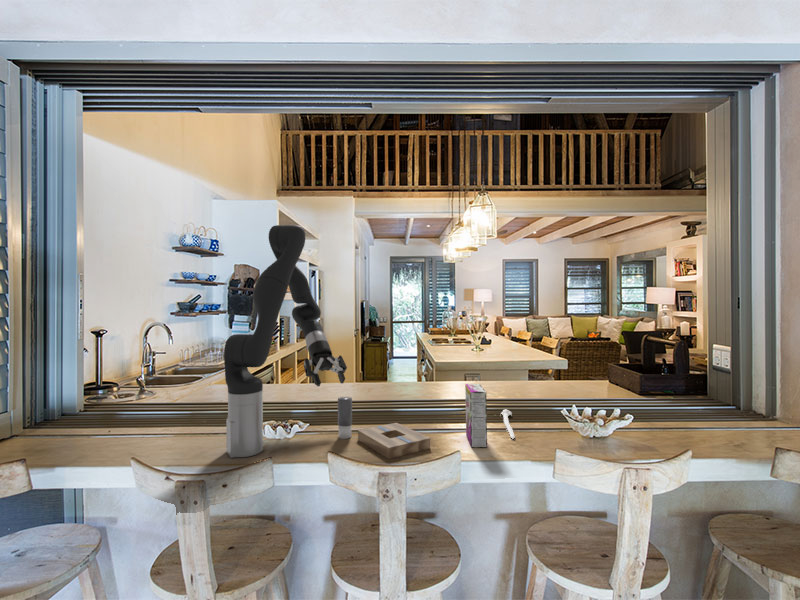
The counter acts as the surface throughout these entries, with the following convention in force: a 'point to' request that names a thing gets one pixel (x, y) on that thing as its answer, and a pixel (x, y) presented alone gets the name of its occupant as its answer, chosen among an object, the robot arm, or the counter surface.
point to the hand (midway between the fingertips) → (331, 383)
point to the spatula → (506, 422)
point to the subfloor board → (393, 440)
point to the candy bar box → (476, 415)
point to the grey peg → (345, 417)
